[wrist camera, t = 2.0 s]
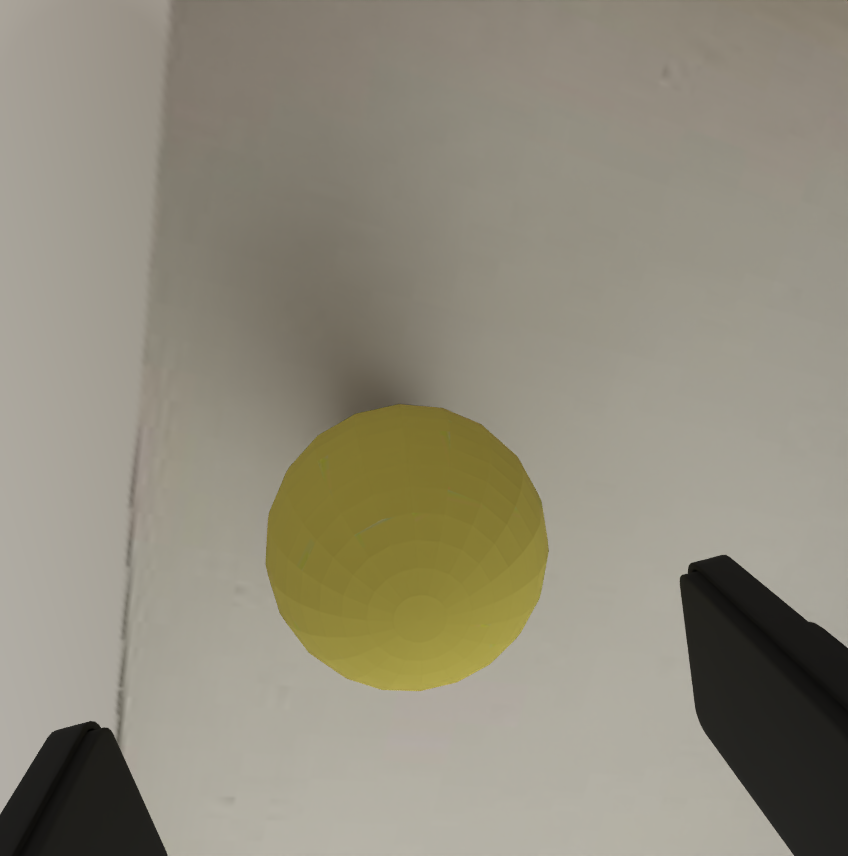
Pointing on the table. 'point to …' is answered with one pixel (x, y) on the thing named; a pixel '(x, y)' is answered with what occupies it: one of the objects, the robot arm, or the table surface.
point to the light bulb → (406, 547)
